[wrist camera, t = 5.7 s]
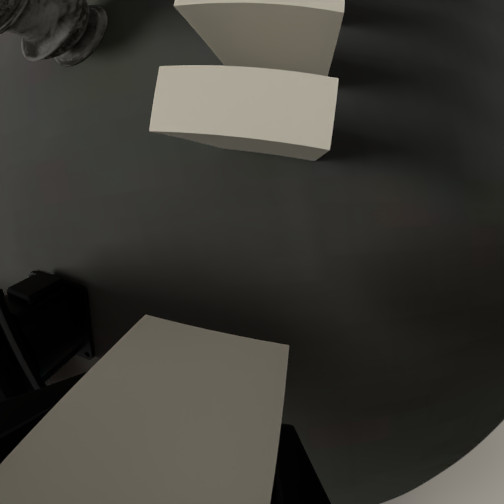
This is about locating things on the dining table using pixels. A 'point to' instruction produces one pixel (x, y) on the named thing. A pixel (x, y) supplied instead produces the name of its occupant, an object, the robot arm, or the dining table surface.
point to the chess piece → (54, 28)
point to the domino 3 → (247, 108)
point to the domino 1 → (159, 424)
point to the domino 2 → (268, 31)
